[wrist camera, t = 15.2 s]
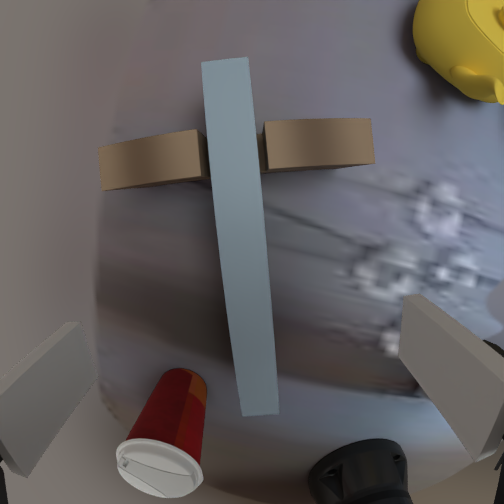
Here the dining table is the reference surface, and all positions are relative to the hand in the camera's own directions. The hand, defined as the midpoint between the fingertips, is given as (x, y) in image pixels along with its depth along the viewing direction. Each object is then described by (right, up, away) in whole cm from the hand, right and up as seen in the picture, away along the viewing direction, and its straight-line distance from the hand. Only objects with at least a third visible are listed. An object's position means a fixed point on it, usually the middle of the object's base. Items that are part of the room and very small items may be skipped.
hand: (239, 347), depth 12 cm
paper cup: (-7, -12, +22) cm, 27 cm away
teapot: (+23, +26, +14) cm, 37 cm away
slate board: (0, +5, +18) cm, 19 cm away
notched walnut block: (-1, +12, +17) cm, 21 cm away
